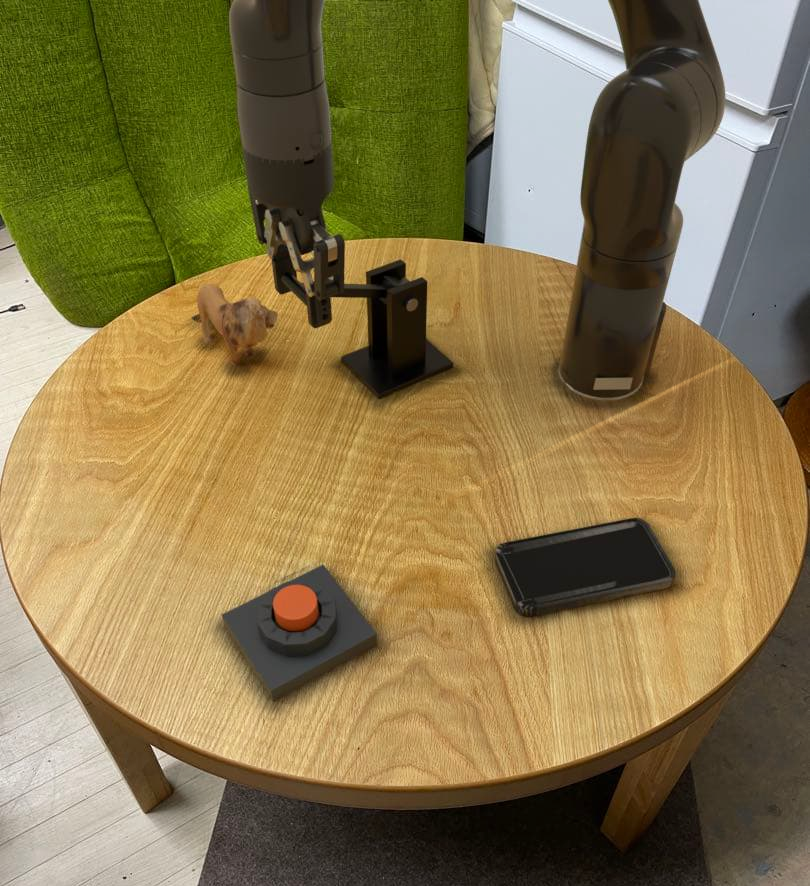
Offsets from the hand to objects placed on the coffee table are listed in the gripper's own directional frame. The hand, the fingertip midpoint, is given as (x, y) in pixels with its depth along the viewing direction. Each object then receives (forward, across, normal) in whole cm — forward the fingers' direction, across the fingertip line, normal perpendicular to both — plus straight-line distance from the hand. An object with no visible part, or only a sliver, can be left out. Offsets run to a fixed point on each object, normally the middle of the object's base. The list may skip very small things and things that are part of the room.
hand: (303, 306), depth 85 cm
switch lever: (+1, 0, +5) cm, 5 cm away
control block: (+12, +26, -16) cm, 33 cm away
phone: (+12, +34, +9) cm, 37 cm away
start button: (+9, +26, -16) cm, 32 cm away
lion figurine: (+12, -13, -3) cm, 18 cm away
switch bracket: (+12, 0, +11) cm, 16 cm away
